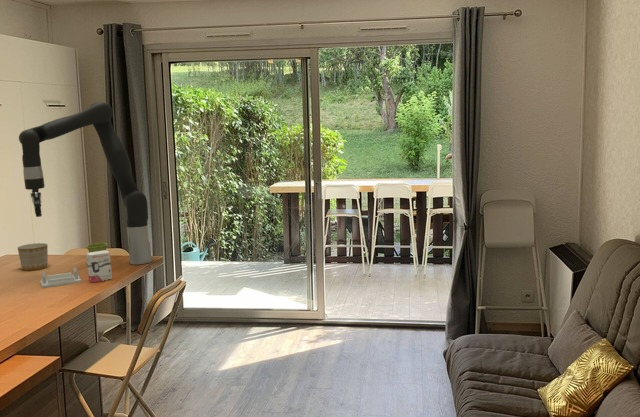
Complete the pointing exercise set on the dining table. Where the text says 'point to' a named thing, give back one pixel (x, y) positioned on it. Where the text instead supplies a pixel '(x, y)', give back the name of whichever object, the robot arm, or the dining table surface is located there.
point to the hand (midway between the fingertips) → (38, 215)
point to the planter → (33, 256)
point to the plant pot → (96, 247)
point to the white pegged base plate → (60, 279)
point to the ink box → (99, 266)
